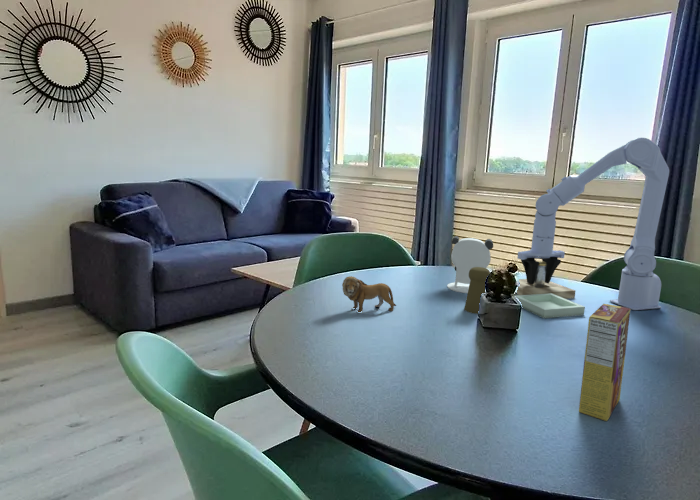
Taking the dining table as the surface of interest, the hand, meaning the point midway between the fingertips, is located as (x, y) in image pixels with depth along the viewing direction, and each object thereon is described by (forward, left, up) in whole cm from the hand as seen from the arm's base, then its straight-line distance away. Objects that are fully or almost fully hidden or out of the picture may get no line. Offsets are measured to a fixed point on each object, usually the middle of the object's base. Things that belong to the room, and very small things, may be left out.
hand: (538, 282), depth 135 cm
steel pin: (0, 0, -3) cm, 3 cm away
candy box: (+34, +57, -3) cm, 66 cm away
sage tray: (+8, +14, -3) cm, 16 cm away
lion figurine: (+54, +6, -3) cm, 55 cm away
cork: (+27, +11, -3) cm, 29 cm away
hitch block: (0, 0, -3) cm, 3 cm away
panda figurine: (+18, -8, -3) cm, 20 cm away
